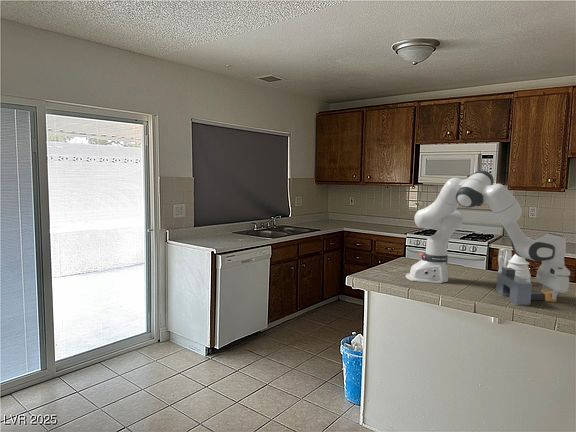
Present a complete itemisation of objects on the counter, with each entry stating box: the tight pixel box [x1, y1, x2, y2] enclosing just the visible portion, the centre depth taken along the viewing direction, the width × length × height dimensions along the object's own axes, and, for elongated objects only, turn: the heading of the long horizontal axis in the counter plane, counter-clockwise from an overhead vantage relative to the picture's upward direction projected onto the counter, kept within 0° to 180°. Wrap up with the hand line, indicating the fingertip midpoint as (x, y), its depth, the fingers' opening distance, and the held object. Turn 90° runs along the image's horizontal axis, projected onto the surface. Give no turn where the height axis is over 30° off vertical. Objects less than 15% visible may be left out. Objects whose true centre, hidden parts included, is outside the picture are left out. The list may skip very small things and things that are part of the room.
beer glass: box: [497, 248, 513, 273], centre depth 241 cm, size 7×7×15 cm
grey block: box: [495, 267, 533, 307], centre depth 194 cm, size 6×21×13 cm, turn 176°
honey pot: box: [507, 253, 532, 283], centre depth 223 cm, size 13×13×18 cm
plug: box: [531, 289, 557, 303], centre depth 193 cm, size 18×4×4 cm, turn 86°
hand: (549, 296), depth 193 cm, fingers closed on plug, 4 cm apart
